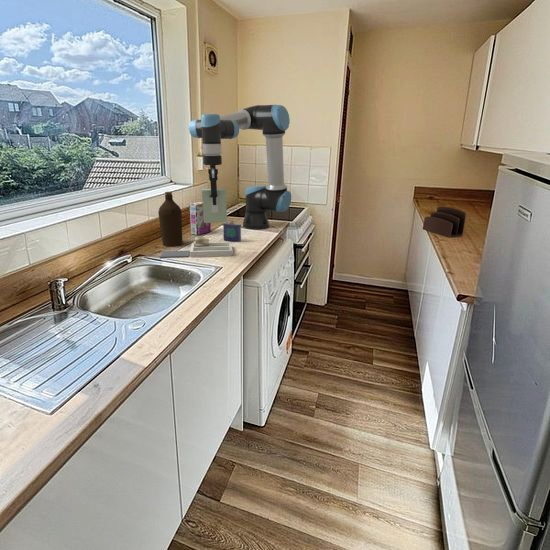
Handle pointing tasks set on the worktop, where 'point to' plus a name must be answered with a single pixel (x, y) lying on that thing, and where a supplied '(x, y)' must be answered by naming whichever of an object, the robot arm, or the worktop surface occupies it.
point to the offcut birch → (201, 241)
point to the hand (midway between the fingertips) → (215, 211)
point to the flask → (232, 232)
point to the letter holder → (445, 222)
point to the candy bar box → (198, 219)
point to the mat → (174, 254)
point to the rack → (212, 250)
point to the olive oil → (170, 221)
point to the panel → (207, 208)
